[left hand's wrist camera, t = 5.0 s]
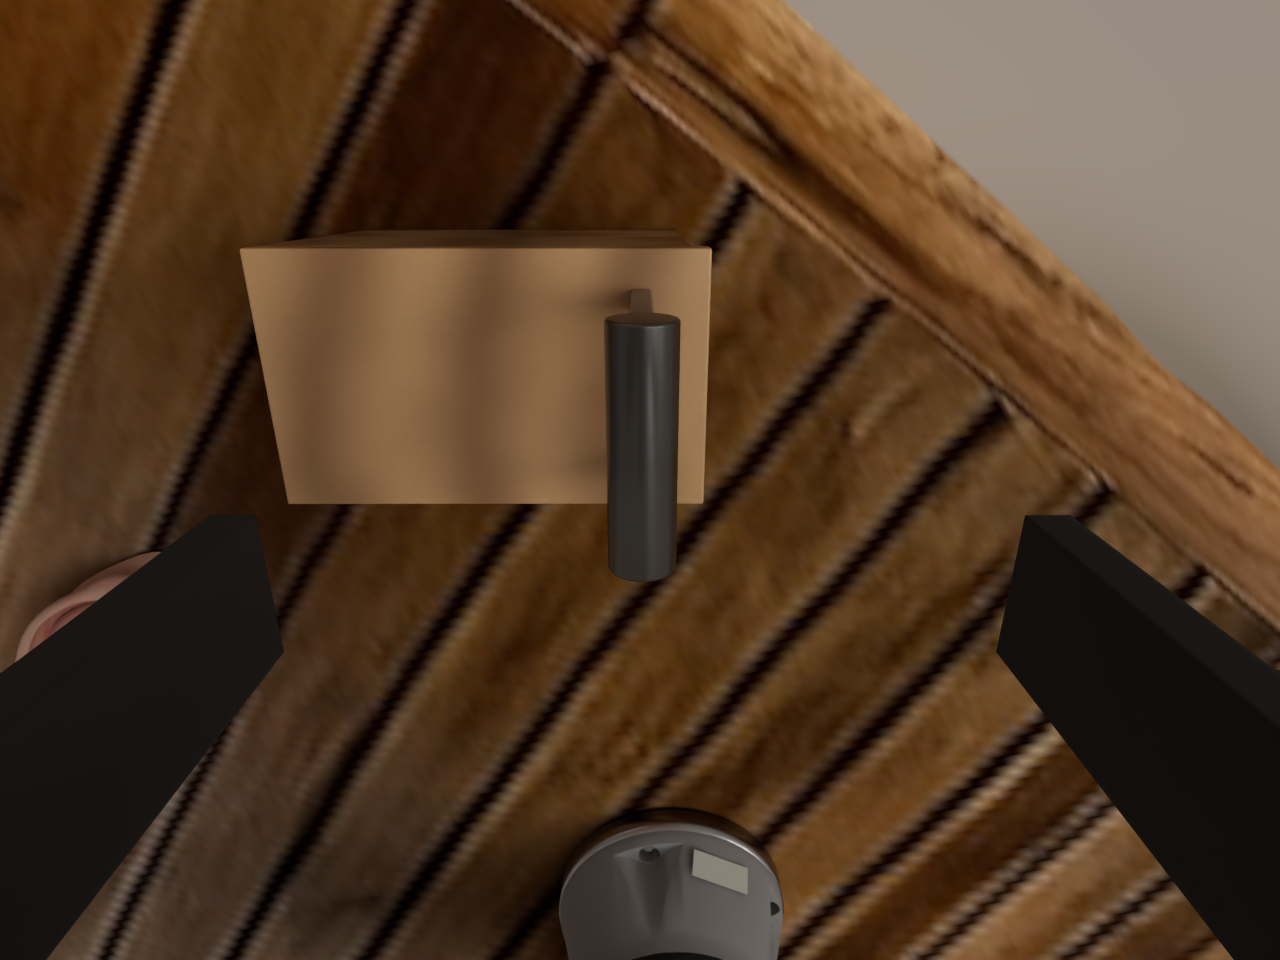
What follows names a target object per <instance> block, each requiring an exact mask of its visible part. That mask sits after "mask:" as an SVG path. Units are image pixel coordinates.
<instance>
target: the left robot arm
mask: <svg viewBox="0 0 1280 960" xmlns="http://www.w3.org/2000/svg"><path fill="white" fill-rule="evenodd" d="M283 652H284V651H283V646H282V641H281V636H280V632H279V627H278V622H277V618H276V613H275V608H274V604H273V599H272V594H271V589H270V585H269V580H268V575H267V571H266V566H265V561H264V556H263V552H262V547H261V542H260V538H259V533H258V528H257V524H256V519H255V515H210V516H208V517H207V518H206V519H204V520H203V521H202V522H200V523H199V524H198V525H196V526H195V527H194V528H192V529H191V530H190V531H188V532H187V533H186V534H185V535H183V536H182V537H181V538H179V539H178V540H177V541H175V542H174V543H173V544H171V545H170V546H169V547H167V548H166V549H165V550H163V551H162V552H161V553H159V554H158V555H157V556H155V557H154V558H153V559H151V560H150V561H149V562H147V563H146V564H145V565H143V566H142V567H141V568H139V569H138V570H137V571H136V572H134V573H133V574H132V575H130V576H129V577H128V578H126V579H125V580H124V581H122V582H121V583H120V584H118V585H117V586H116V587H114V588H113V589H112V590H110V591H109V592H108V593H106V594H105V595H104V596H102V597H101V598H100V599H98V600H97V601H96V602H94V603H93V604H92V605H91V606H89V607H88V608H87V609H85V610H84V611H83V612H81V613H80V614H79V615H77V616H76V617H75V618H73V619H72V620H71V621H69V622H68V623H67V624H65V625H64V626H63V627H61V628H60V629H59V630H57V631H56V632H55V633H53V634H52V635H51V636H49V637H48V638H47V639H45V640H44V641H43V642H42V643H40V644H39V645H38V646H36V647H35V648H34V649H32V650H31V651H30V652H28V653H27V654H26V655H24V656H23V657H22V658H20V659H19V660H18V661H16V662H15V663H14V664H12V665H11V666H10V667H8V668H7V669H6V670H4V671H3V672H2V673H0V960H46V959H47V958H48V957H49V955H50V954H51V953H52V951H53V950H54V949H55V948H56V946H57V945H58V944H59V942H60V941H61V940H62V938H63V937H64V936H65V935H66V933H67V932H68V931H69V929H70V928H71V927H72V926H73V924H74V923H75V922H76V920H77V919H78V918H79V916H80V915H81V914H82V913H83V911H84V910H85V909H86V907H87V906H88V905H89V904H90V902H91V901H92V900H93V898H94V897H95V896H96V894H97V893H98V892H99V891H100V889H101V888H102V887H103V885H104V884H105V883H106V882H107V880H108V879H109V878H110V876H111V875H112V874H113V872H114V871H115V870H116V869H117V867H118V866H119V865H120V863H121V862H122V861H123V859H124V858H125V857H126V856H127V854H128V853H129V852H130V850H131V849H132V848H133V847H134V845H135V844H136V843H137V841H138V840H139V839H140V837H141V836H142V835H143V834H144V832H145V831H146V830H147V828H148V827H149V826H150V825H151V823H152V822H153V821H154V819H155V818H156V817H157V815H158V814H159V813H160V812H161V810H162V809H163V808H164V806H165V805H166V804H167V802H168V801H169V800H170V799H171V797H172V796H173V795H174V793H175V792H176V791H177V790H178V788H179V787H180V786H181V784H182V783H183V782H184V780H185V779H186V778H187V777H188V775H189V774H190V773H191V771H192V770H193V769H194V768H195V766H196V765H197V764H198V762H199V761H200V760H201V758H202V757H203V756H204V755H205V753H206V752H207V751H208V749H209V748H210V747H211V745H212V744H213V743H214V742H215V740H216V739H217V738H218V736H219V735H220V734H221V733H222V731H223V730H224V729H225V727H226V726H227V725H228V723H229V722H230V721H231V720H232V718H233V717H234V716H235V714H236V713H237V712H238V711H239V709H240V708H241V707H242V705H243V704H244V703H245V701H246V700H247V699H248V698H249V696H250V695H251V694H252V692H253V691H254V690H255V689H256V687H257V686H258V685H259V683H260V682H261V681H262V679H263V678H264V677H265V676H266V674H267V673H268V672H269V670H270V669H271V668H272V666H273V665H274V664H275V663H276V661H277V660H278V659H279V657H280V656H281V655H282V654H283ZM996 652H997V654H998V655H999V656H1000V657H1001V659H1002V660H1003V661H1004V663H1005V664H1006V665H1007V666H1008V668H1009V669H1010V670H1011V672H1012V673H1013V674H1014V676H1015V677H1016V678H1017V679H1018V681H1019V682H1020V683H1021V685H1022V686H1023V687H1024V689H1025V690H1026V691H1027V692H1028V694H1029V695H1030V696H1031V698H1032V699H1033V700H1034V701H1035V703H1036V704H1037V705H1038V707H1039V708H1040V709H1041V711H1042V712H1043V713H1044V714H1045V716H1046V717H1047V718H1048V720H1049V721H1050V722H1051V723H1052V725H1053V726H1054V727H1055V729H1056V730H1057V731H1058V733H1059V734H1060V735H1061V736H1062V738H1063V739H1064V740H1065V742H1066V743H1067V744H1068V745H1069V747H1070V748H1071V749H1072V751H1073V752H1074V753H1075V755H1076V756H1077V757H1078V758H1079V760H1080V761H1081V762H1082V764H1083V765H1084V766H1085V768H1086V769H1087V770H1088V771H1089V773H1090V774H1091V775H1092V777H1093V778H1094V779H1095V780H1096V782H1097V783H1098V784H1099V786H1100V787H1101V788H1102V790H1103V791H1104V792H1105V793H1106V795H1107V796H1108V797H1109V799H1110V800H1111V801H1112V802H1113V804H1114V805H1115V806H1116V808H1117V809H1118V810H1119V812H1120V813H1121V814H1122V815H1123V817H1124V818H1125V819H1126V821H1127V822H1128V823H1129V825H1130V826H1131V827H1132V828H1133V830H1134V831H1135V832H1136V834H1137V835H1138V836H1139V837H1140V839H1141V840H1142V841H1143V843H1144V844H1145V845H1146V847H1147V848H1148V849H1149V850H1150V852H1151V853H1152V854H1153V856H1154V857H1155V858H1156V859H1157V861H1158V862H1159V863H1160V865H1161V866H1162V867H1163V869H1164V870H1165V871H1166V872H1167V874H1168V875H1169V876H1170V878H1171V879H1172V880H1173V882H1174V883H1175V884H1176V885H1177V887H1178V888H1179V889H1180V891H1181V892H1182V893H1183V894H1184V896H1185V897H1186V898H1187V900H1188V901H1189V902H1190V904H1191V905H1192V906H1193V907H1194V909H1195V910H1196V911H1197V913H1198V914H1199V915H1200V916H1201V918H1202V919H1203V920H1204V922H1205V923H1206V924H1207V926H1208V927H1209V928H1210V929H1211V931H1212V932H1213V933H1214V935H1215V936H1216V937H1217V938H1218V940H1219V941H1220V942H1221V944H1222V945H1223V946H1224V948H1225V949H1226V950H1227V951H1228V953H1229V954H1230V955H1231V957H1232V958H1233V959H1234V960H1280V670H1274V669H1273V668H1272V667H1270V666H1269V665H1268V664H1266V663H1265V662H1264V661H1262V660H1261V659H1260V658H1258V657H1257V656H1256V655H1254V654H1253V653H1252V652H1250V651H1249V650H1248V649H1246V648H1245V647H1244V646H1242V645H1241V644H1240V643H1238V642H1237V641H1236V640H1235V639H1233V638H1232V637H1231V636H1229V635H1228V634H1227V633H1225V632H1224V631H1223V630H1221V629H1220V628H1219V627H1217V626H1216V625H1215V624H1213V623H1212V622H1211V621H1209V620H1208V619H1207V618H1205V617H1204V616H1203V615H1201V614H1200V613H1199V612H1197V611H1196V610H1195V609H1193V608H1192V607H1191V606H1189V605H1188V604H1187V603H1186V602H1184V601H1183V600H1182V599H1180V598H1179V597H1178V596H1176V595H1175V594H1174V593H1172V592H1171V591H1170V590H1168V589H1167V588H1166V587H1164V586H1163V585H1162V584H1160V583H1159V582H1158V581H1156V580H1155V579H1154V578H1152V577H1151V576H1150V575H1148V574H1147V573H1146V572H1144V571H1143V570H1142V569H1141V568H1139V567H1138V566H1137V565H1135V564H1134V563H1133V562H1131V561H1130V560H1129V559H1127V558H1126V557H1125V556H1123V555H1122V554H1121V553H1119V552H1118V551H1117V550H1115V549H1114V548H1113V547H1111V546H1110V545H1109V544H1107V543H1106V542H1105V541H1103V540H1102V539H1101V538H1099V537H1098V536H1097V535H1095V534H1094V533H1093V532H1092V531H1090V530H1089V529H1088V528H1086V527H1085V526H1084V525H1082V524H1081V523H1080V522H1078V521H1077V520H1076V519H1074V518H1073V517H1072V516H1070V515H1025V519H1024V524H1023V528H1022V533H1021V538H1020V542H1019V547H1018V552H1017V556H1016V561H1015V566H1014V571H1013V575H1012V580H1011V585H1010V589H1009V594H1008V599H1007V604H1006V608H1005V613H1004V618H1003V622H1002V627H1001V632H1000V636H999V641H998V646H997V651H996ZM559 918H560V923H561V929H562V933H563V936H564V939H565V942H566V948H567V953H568V958H569V960H777V955H778V948H779V942H780V934H781V928H782V919H783V899H782V893H781V888H780V883H779V878H778V874H777V870H776V867H775V865H774V862H773V860H772V858H771V857H770V855H769V853H768V852H767V851H766V849H765V848H764V847H763V845H762V844H761V843H760V842H759V841H758V840H757V839H756V838H754V837H753V836H752V835H751V834H749V833H748V832H747V831H745V830H744V829H742V828H741V827H739V826H737V825H735V824H733V823H731V822H729V821H727V820H724V819H722V818H719V817H716V816H713V815H709V814H705V813H701V812H695V811H687V810H656V811H649V812H643V813H639V814H634V815H631V816H628V817H624V818H622V819H619V820H617V821H614V822H612V823H610V824H608V825H606V826H604V827H603V828H601V829H599V830H598V831H596V832H595V833H594V834H592V835H591V836H590V837H588V838H587V839H586V840H585V841H584V842H583V843H582V844H581V845H580V846H579V847H578V848H577V850H576V851H575V852H574V854H573V855H572V856H571V858H570V860H569V862H568V864H567V866H566V869H565V871H564V875H563V879H562V887H561V896H560V905H559Z"/></svg>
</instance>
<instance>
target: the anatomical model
mask: <svg viewBox="0 0 1280 960" xmlns="http://www.w3.org/2000/svg"><path fill="white" fill-rule="evenodd" d="M159 553H161V552H150V553H146V554H142V555H138V556H135V557H133V558H130V559H127V560H125V561H123V562H120V563H118V564H116V565H114V566H111V567H109V568H107V569H105V570H103V571H101V572H99V573H97V574H96V575H94V576H92V577H91V578H89V579H88V580H86V581H84V582H83V583H82V584H81V585H79V586H78V587H77V588H76V589H74V590H73V592H72V593H70V594H68V595H66V596H64V597H62V598H60V599H59V600H57V601H55V602H53V603H52V604H50V605H49V606H47V607H46V608H45V609H43V610H42V611H41V612H40V613H39V614H37V615H36V616H35V617H34V619H33V620H32V621H31V622H30V623H29V625H28V626H27V628H26V630H25V631H24V633H23V635H22V638H21V640H20V643H19V646H18V650H17V654H16V659H15V662H16V661H18V660H19V659H20V658H22V657H23V656H24V655H26V654H27V653H28V652H30V651H31V650H32V649H34V648H35V647H36V646H38V645H39V644H40V643H42V642H43V641H44V640H45V639H47V638H48V637H49V636H51V635H52V634H53V633H55V632H56V631H57V630H59V629H60V628H61V627H63V626H64V625H65V624H67V623H68V622H69V621H71V620H72V619H73V618H75V617H76V616H77V615H79V614H80V613H81V612H83V611H84V610H85V609H87V608H88V607H89V606H91V605H92V604H93V603H94V602H96V601H97V600H98V599H100V598H101V597H102V596H104V595H105V594H106V593H108V592H109V591H110V590H112V589H113V588H114V587H116V586H117V585H118V584H120V583H121V582H122V581H124V580H125V579H126V578H128V577H129V576H130V575H132V574H133V573H134V572H136V571H137V570H138V569H139V568H141V567H142V566H143V565H145V564H146V563H147V562H149V561H150V560H151V559H153V558H154V557H155V556H157V555H158V554H159Z"/></svg>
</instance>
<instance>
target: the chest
mask: <svg viewBox="0 0 1280 960" xmlns="http://www.w3.org/2000/svg"><path fill="white" fill-rule="evenodd" d="M417 246H690V245H689V244H688V243H687V242H686V241H685V240H684V239H683V237H682V236H681V235H680V234H679V233H678V232H677V231H676V230H363V231H356V232H349V233H342V234H335V235H328V236H322V237H315V238H308V239H301V240H294V241H287V242H280V243H273V244H266V245H260V246H254V247H417Z"/></svg>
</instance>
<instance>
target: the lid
mask: <svg viewBox="0 0 1280 960" xmlns="http://www.w3.org/2000/svg"><path fill="white" fill-rule="evenodd" d="M240 255H241V261H242V266H243V271H244V276H245V281H246V287H247V292H248V297H249V302H250V307H251V312H252V318H253V323H254V328H255V333H256V338H257V344H258V349H259V354H260V359H261V364H262V369H263V375H264V380H265V385H266V390H267V395H268V401H269V406H270V411H271V416H272V421H273V426H274V432H275V437H276V442H277V447H278V452H279V458H280V463H281V468H282V473H283V478H284V483H285V489H286V494H287V499H288V503H289V504H607V528H608V566H609V569H610V571H611V572H612V573H613V574H614V575H616V576H617V577H619V578H622V579H625V580H629V581H636V582H648V581H655V580H659V579H662V578H665V577H667V576H668V575H670V574H671V573H672V572H673V571H674V569H675V566H676V531H677V504H701V503H703V497H704V468H705V439H706V410H707V381H708V352H709V323H710V294H711V265H712V249H711V248H710V247H708V246H417V247H246V248H241V249H240Z"/></svg>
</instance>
